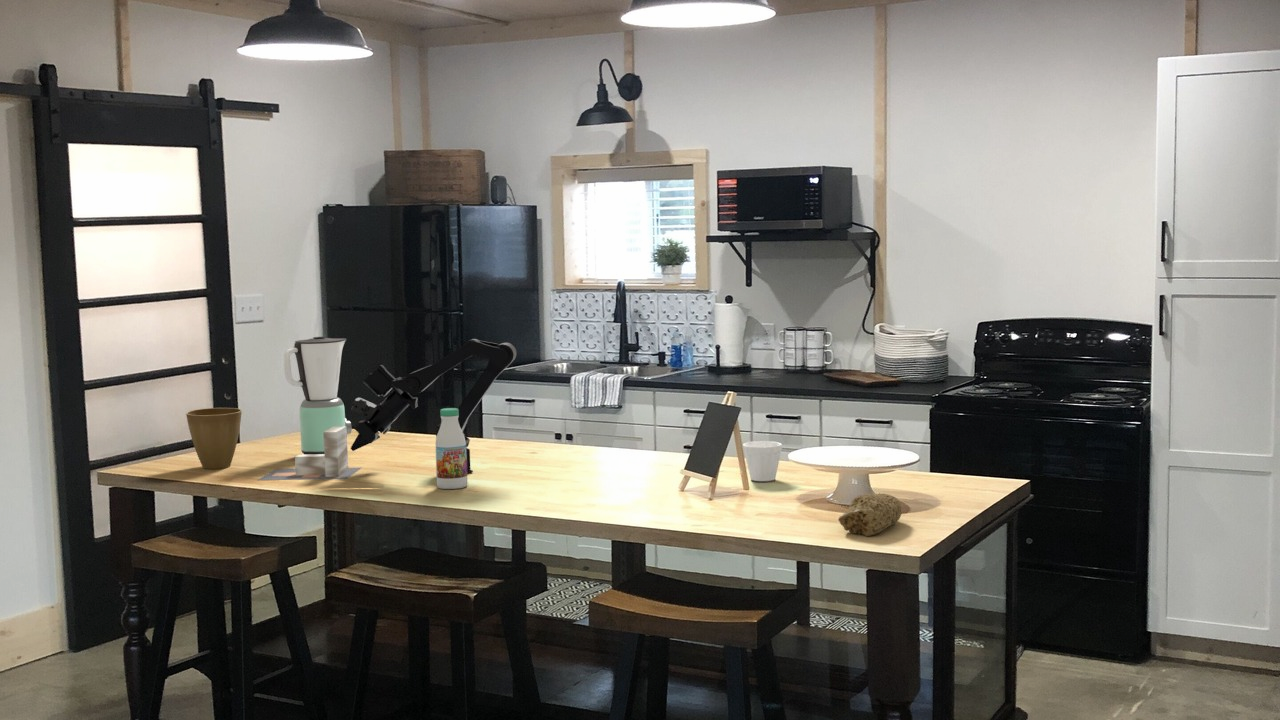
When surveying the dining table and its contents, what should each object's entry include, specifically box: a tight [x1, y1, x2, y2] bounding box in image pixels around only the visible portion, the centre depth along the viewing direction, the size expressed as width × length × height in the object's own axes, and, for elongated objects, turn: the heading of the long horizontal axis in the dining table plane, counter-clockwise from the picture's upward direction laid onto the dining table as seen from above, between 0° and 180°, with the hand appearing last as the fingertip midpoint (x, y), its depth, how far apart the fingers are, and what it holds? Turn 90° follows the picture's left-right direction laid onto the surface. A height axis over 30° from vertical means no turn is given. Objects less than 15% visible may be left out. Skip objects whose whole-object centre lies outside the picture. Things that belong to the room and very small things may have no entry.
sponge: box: [837, 493, 903, 537], centre depth 267 cm, size 13×8×20 cm
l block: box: [294, 426, 349, 477], centre depth 341 cm, size 12×10×12 cm
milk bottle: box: [435, 407, 469, 490], centre depth 320 cm, size 8×8×20 cm
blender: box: [283, 336, 353, 455], centre depth 371 cm, size 19×13×35 cm
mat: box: [257, 467, 362, 481], centre depth 341 cm, size 24×16×1 cm, turn 88°
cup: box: [742, 440, 783, 483], centre depth 319 cm, size 10×10×9 cm
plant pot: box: [185, 407, 243, 470], centre depth 357 cm, size 15×15×16 cm
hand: (351, 449), depth 340 cm, fingers closed
